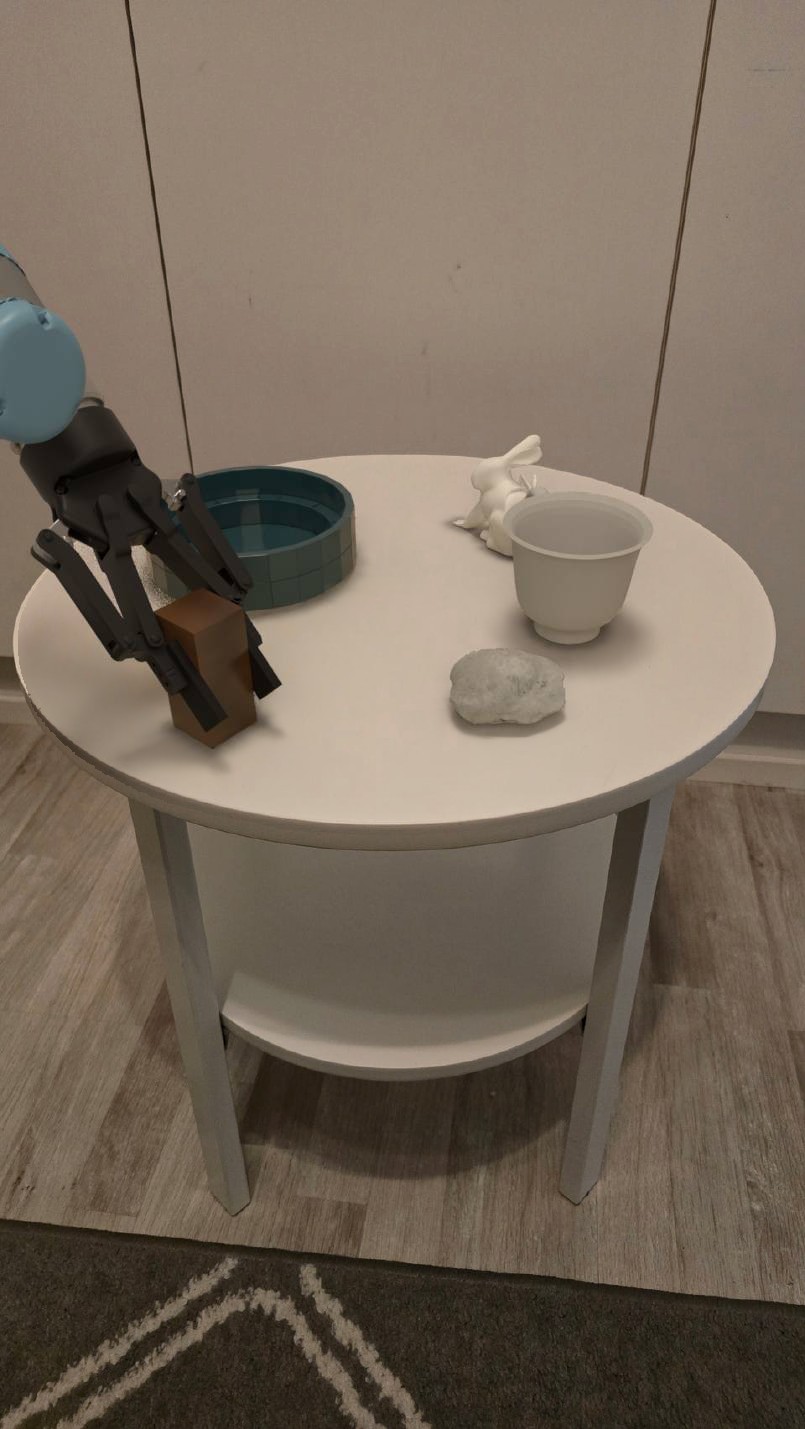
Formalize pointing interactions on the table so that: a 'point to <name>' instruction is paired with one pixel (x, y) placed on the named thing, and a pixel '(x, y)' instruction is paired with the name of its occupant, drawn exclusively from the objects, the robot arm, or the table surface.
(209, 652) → the walnut block
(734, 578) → the table surface
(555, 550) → the teacup
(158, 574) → the bowl
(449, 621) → the table surface
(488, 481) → the rabbit figurine
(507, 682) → the pebble
